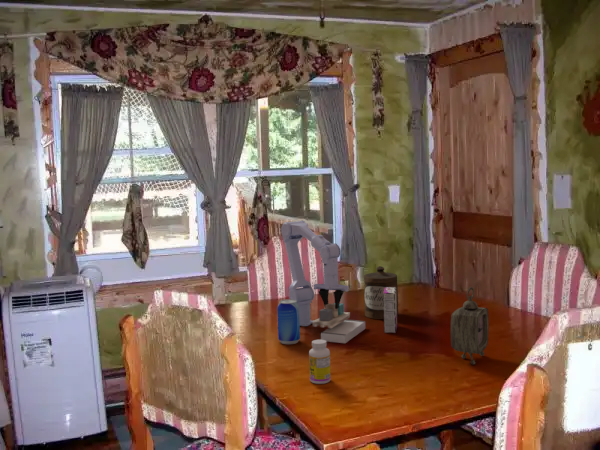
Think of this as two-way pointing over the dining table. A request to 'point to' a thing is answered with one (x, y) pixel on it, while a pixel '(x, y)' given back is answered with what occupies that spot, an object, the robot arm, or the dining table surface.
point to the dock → (343, 331)
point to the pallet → (336, 318)
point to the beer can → (288, 321)
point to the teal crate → (340, 309)
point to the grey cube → (325, 314)
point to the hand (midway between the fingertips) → (331, 307)
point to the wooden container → (378, 292)
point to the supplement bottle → (319, 362)
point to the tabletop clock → (470, 328)
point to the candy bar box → (390, 310)
